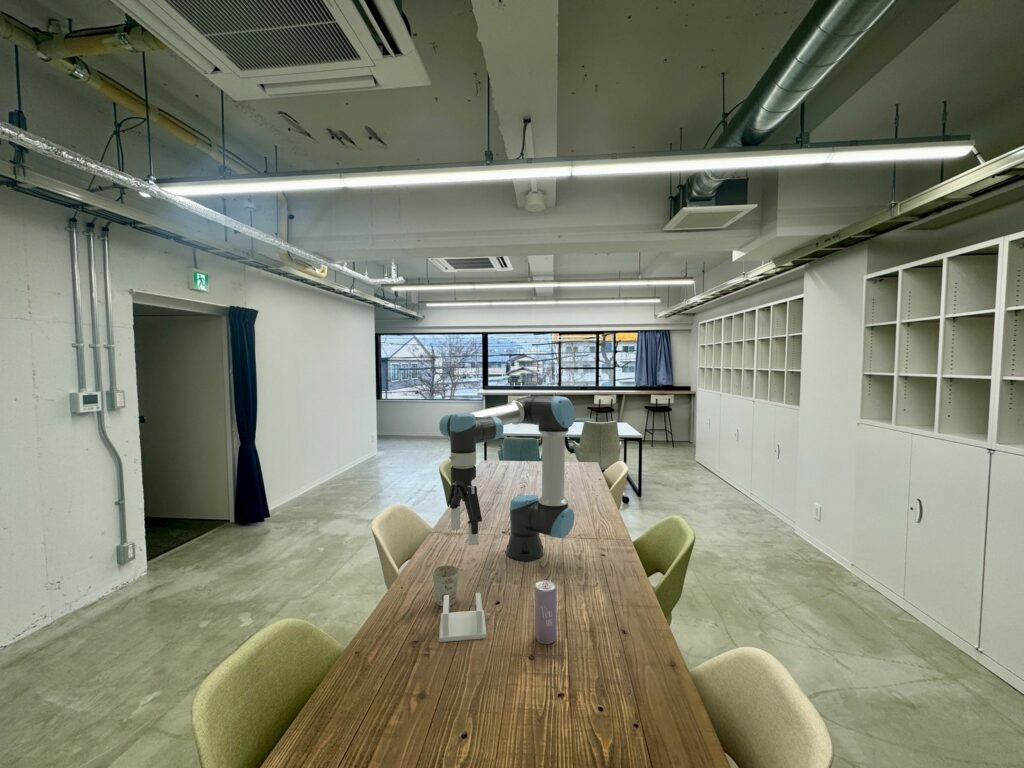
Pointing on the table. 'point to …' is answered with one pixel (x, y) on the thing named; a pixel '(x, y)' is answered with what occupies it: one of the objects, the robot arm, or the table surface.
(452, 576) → the mug
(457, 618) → the holder
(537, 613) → the beverage can
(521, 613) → the table surface
